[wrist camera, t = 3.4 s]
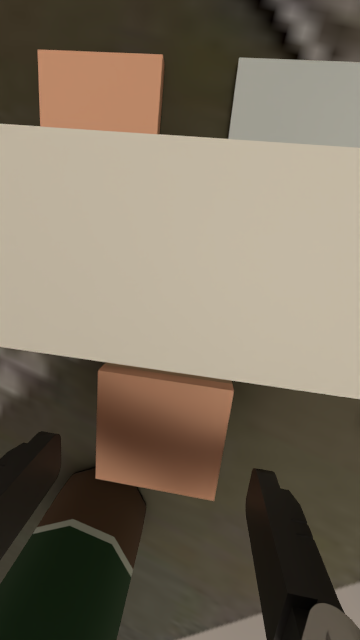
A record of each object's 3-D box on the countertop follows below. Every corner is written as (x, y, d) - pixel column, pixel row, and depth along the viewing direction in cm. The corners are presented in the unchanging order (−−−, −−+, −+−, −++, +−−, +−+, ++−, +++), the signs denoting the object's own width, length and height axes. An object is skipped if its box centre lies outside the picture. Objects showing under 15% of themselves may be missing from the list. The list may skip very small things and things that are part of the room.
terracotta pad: (44, 58, 13) (37, 49, 13) (164, 64, 13) (162, 54, 12) (48, 192, 15) (42, 189, 14) (154, 201, 14) (152, 199, 14)
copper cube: (139, 330, 17) (98, 370, 10) (222, 341, 16) (233, 390, 10) (134, 403, 18) (95, 478, 12) (210, 415, 18) (213, 500, 11)
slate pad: (237, 67, 13) (239, 57, 12) (374, 73, 12) (383, 63, 11) (218, 207, 14) (219, 205, 14) (338, 218, 14) (343, 216, 13)
